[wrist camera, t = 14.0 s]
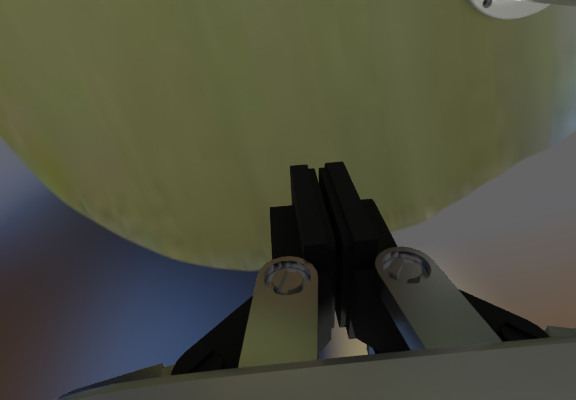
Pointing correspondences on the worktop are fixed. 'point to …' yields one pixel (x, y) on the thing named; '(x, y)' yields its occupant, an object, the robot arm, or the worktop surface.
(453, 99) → the worktop surface
